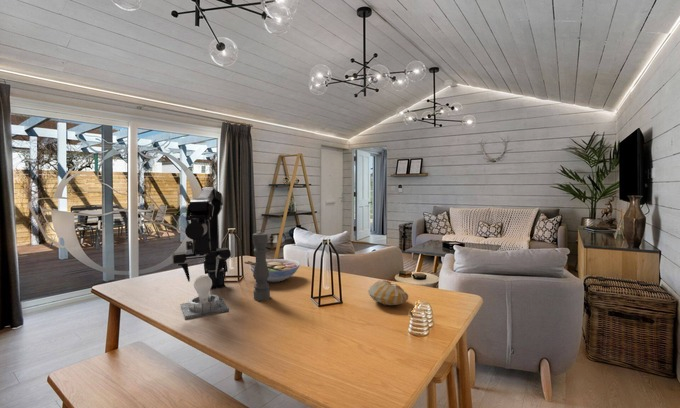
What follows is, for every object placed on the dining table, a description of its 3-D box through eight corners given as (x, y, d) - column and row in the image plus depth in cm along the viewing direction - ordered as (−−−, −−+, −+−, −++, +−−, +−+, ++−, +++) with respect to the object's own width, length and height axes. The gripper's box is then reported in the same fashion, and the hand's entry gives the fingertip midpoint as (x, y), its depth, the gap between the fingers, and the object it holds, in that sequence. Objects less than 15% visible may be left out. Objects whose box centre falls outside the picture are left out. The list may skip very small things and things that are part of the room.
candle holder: (250, 299, 131) (248, 234, 130) (259, 294, 137) (258, 232, 135) (264, 301, 129) (262, 235, 127) (273, 296, 135) (271, 233, 133)
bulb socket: (220, 299, 132) (220, 290, 132) (228, 310, 120) (228, 301, 120) (180, 306, 125) (180, 297, 125) (185, 319, 113) (184, 309, 113)
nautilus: (376, 292, 140) (413, 297, 135) (361, 306, 120) (404, 314, 115) (377, 272, 140) (415, 277, 135) (362, 284, 120) (405, 290, 115)
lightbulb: (195, 310, 118) (194, 278, 117) (193, 304, 124) (192, 274, 123) (214, 306, 121) (212, 276, 120) (211, 301, 126) (210, 272, 126)
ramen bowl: (312, 279, 158) (312, 261, 157) (272, 291, 141) (271, 272, 140) (278, 270, 174) (277, 255, 174) (238, 281, 157) (237, 263, 157)
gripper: (223, 230, 132) (225, 270, 133) (169, 235, 123) (171, 278, 124) (230, 234, 123) (232, 277, 124) (172, 239, 113) (174, 285, 114)
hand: (203, 279), depth 122 cm, fingers open, 9 cm apart
